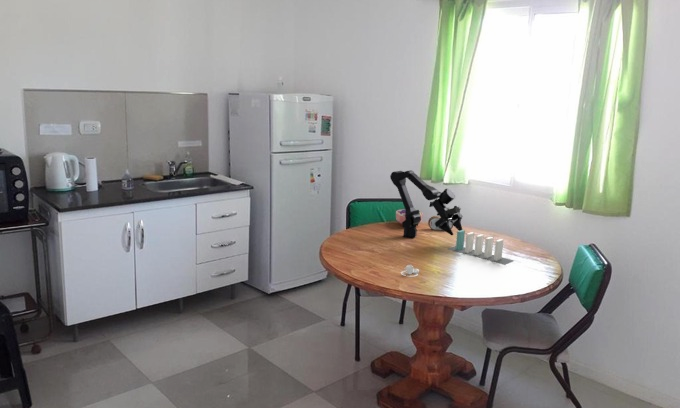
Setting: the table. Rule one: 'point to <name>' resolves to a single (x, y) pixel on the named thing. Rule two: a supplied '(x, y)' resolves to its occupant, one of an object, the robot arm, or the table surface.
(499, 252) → the domino
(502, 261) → the mat
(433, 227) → the tin
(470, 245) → the domino
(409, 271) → the teacup and saucer
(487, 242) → the domino
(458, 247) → the teal domino
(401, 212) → the cell model
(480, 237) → the domino
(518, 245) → the table surface
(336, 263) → the table surface
